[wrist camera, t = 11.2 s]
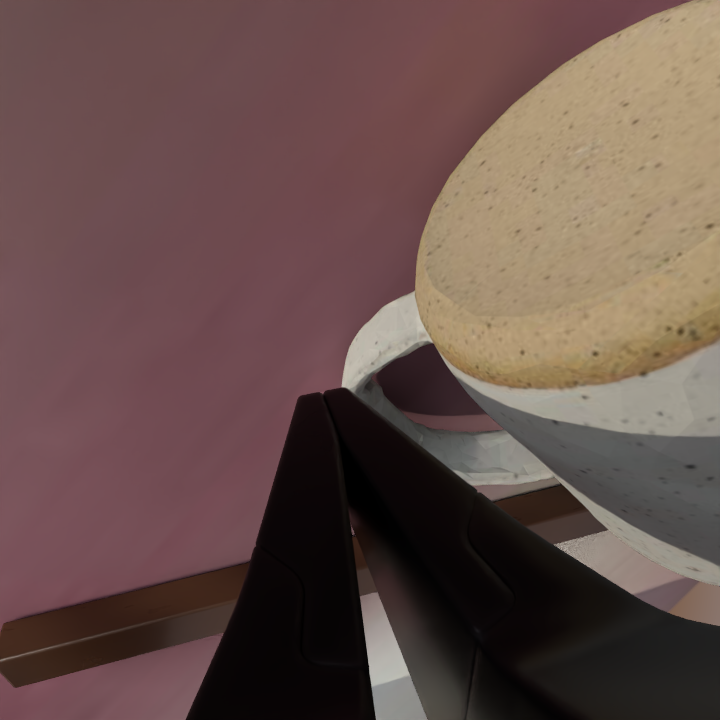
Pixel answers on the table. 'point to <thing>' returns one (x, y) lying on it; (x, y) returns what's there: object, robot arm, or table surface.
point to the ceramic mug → (585, 291)
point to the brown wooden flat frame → (206, 604)
